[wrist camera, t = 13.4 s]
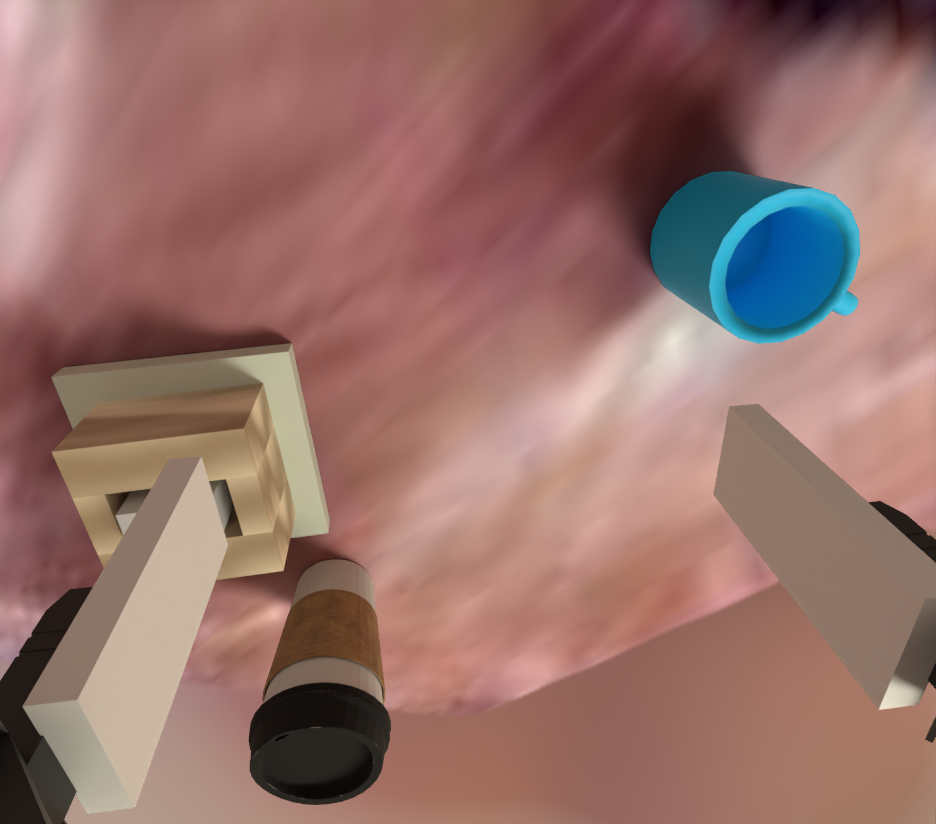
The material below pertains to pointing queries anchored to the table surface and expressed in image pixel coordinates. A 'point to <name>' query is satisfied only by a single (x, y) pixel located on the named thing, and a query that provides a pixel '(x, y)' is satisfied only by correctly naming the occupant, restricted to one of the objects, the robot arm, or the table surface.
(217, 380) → the base
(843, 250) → the mug
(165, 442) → the collar
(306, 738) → the coffee cup
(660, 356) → the table surface
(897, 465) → the table surface
